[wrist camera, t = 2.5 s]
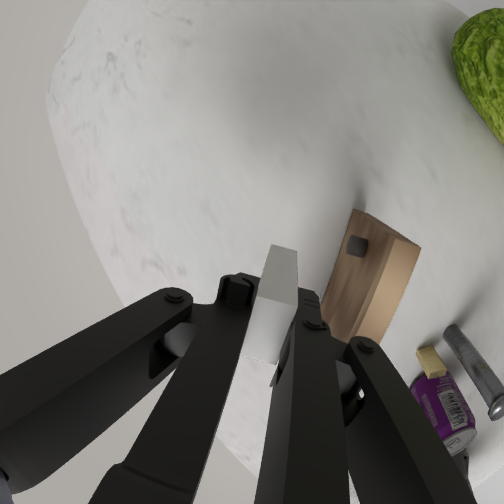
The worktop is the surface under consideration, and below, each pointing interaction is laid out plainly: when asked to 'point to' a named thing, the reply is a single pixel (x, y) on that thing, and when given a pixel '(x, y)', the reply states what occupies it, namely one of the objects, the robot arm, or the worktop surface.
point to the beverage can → (446, 411)
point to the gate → (368, 279)
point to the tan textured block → (431, 362)
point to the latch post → (477, 371)
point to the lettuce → (483, 65)
